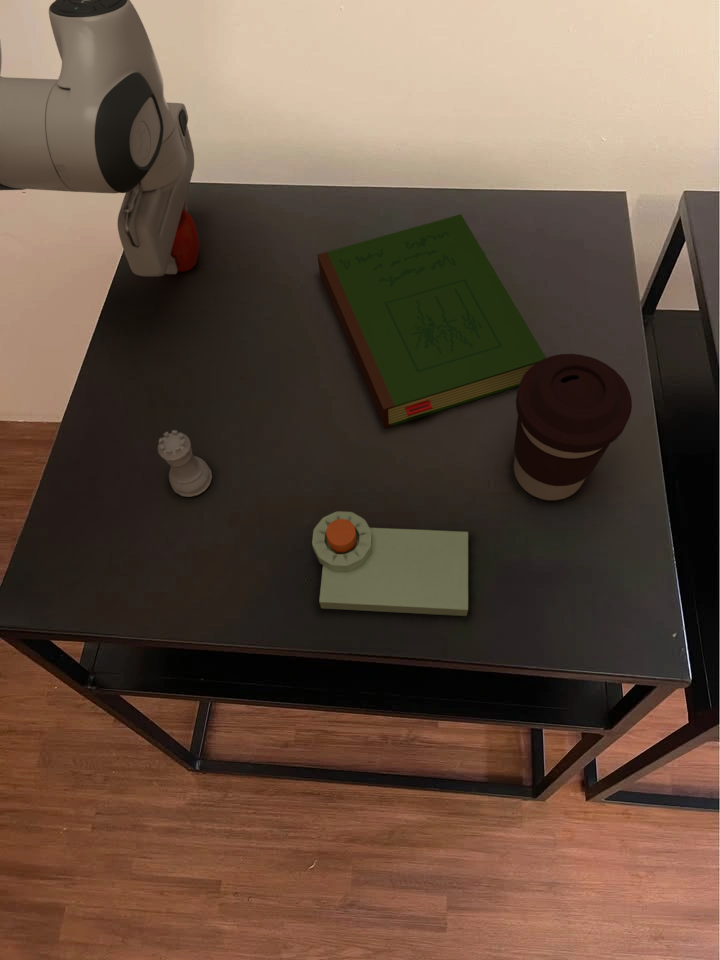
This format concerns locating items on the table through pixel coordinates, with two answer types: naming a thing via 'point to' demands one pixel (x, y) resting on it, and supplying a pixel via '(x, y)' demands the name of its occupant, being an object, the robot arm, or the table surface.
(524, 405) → the coffee cup
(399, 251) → the hardcover book
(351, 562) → the scale
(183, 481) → the rook chess piece
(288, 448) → the table surface
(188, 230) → the apple
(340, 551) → the button
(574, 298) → the table surface
